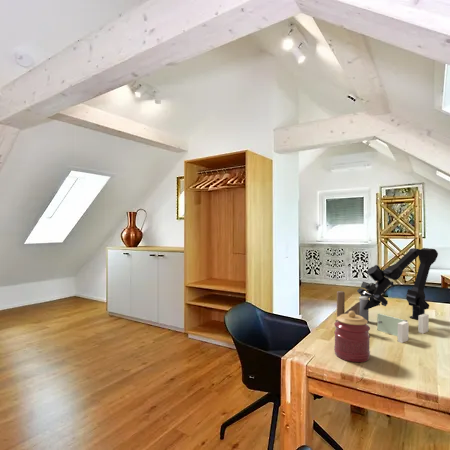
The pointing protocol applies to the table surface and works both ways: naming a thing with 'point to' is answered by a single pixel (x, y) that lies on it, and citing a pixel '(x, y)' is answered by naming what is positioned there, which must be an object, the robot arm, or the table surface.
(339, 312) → the toy block tower
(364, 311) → the post
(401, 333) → the wall frame
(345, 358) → the canister
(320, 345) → the table surface
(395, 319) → the door
